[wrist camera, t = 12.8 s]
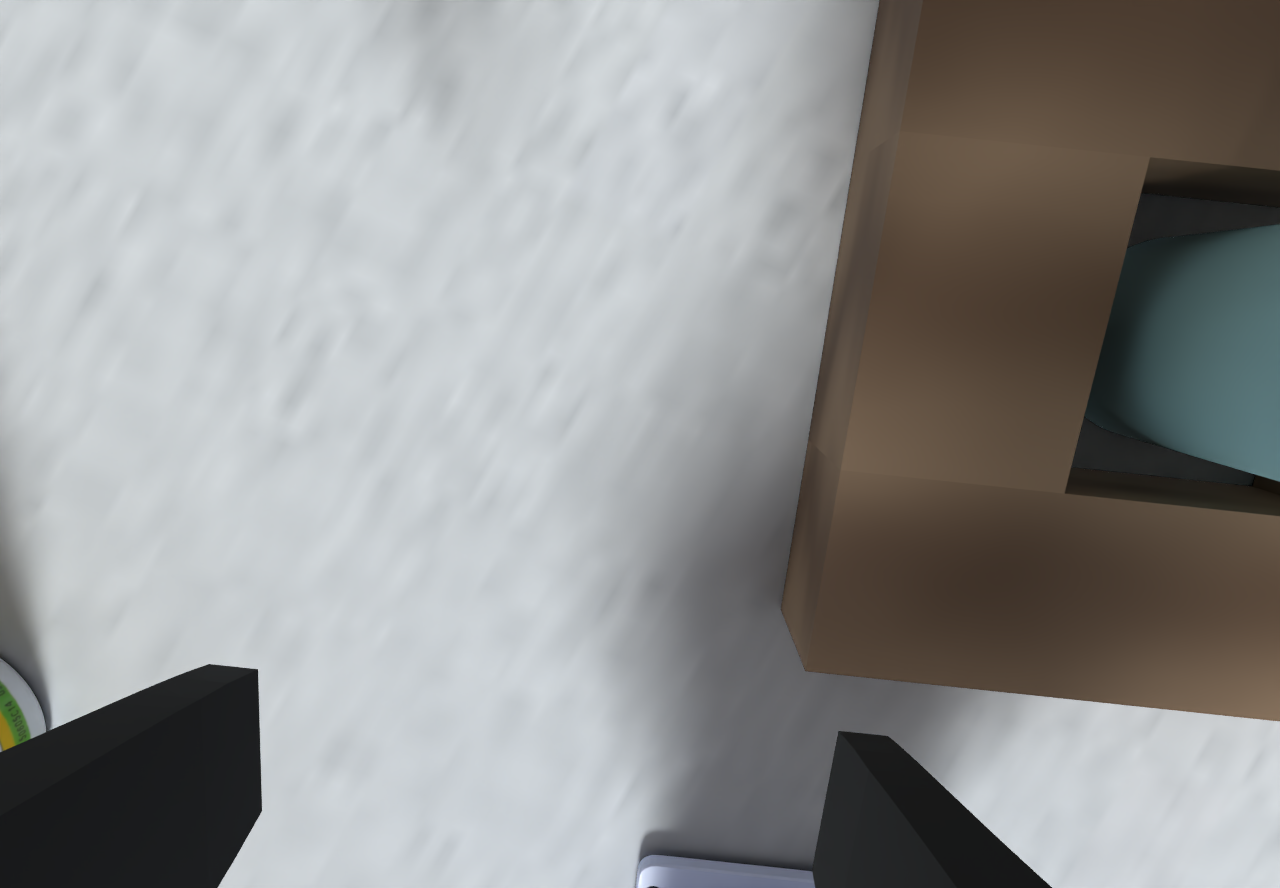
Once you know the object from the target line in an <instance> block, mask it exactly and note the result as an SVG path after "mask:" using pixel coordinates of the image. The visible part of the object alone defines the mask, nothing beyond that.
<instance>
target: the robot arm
mask: <svg viewBox="0 0 1280 888" xmlns="http://www.w3.org/2000/svg"><path fill="white" fill-rule="evenodd" d="M261 812H262V796H261V761H260V727H259V692H258V669H249V668H240V667H230V666H221V665H211V664H208V665H206V666H203V667H200V668H197V669H194V670H191V671H188V672H186V673H183V674H181V675H178V676H175V677H173V678H171V679H168V680H166V681H163V682H161V683H158V684H156V685H154V686H151V687H149V688H146V689H144V690H142V691H139V692H137V693H135V694H132V695H130V696H128V697H125V698H123V699H121V700H119V701H116V702H114V703H112V704H109V705H107V706H105V707H102V708H100V709H98V710H96V711H93V712H91V713H89V714H87V715H84V716H82V717H80V718H77V719H75V720H73V721H71V722H68V723H66V724H64V725H61V726H59V727H57V728H54V729H52V730H50V731H48V732H45V733H43V734H41V735H38V736H36V737H34V738H32V739H29V740H27V741H25V742H22V743H20V744H18V745H16V746H13V747H11V748H9V749H6V750H4V751H2V752H0V888H217V887H218V886H219V884H220V882H221V881H222V879H223V877H224V876H225V874H226V872H227V871H228V869H229V868H230V866H231V864H232V863H233V861H234V859H235V858H236V856H237V854H238V852H239V850H240V849H241V847H242V845H243V843H244V842H245V840H246V838H247V836H248V835H249V833H250V831H251V829H252V828H253V826H254V824H255V822H256V820H257V819H258V817H259V815H260V813H261ZM649 886H656V887H658V888H1052V887H1051V886H1050V885H1048V884H1047V883H1046V882H1045V881H1044V880H1043V879H1042V878H1041V877H1040V876H1039V875H1037V874H1036V873H1035V872H1034V871H1033V870H1032V869H1031V868H1030V867H1029V866H1028V865H1026V864H1025V863H1024V862H1023V861H1022V860H1021V859H1020V858H1019V857H1018V856H1017V855H1016V854H1015V853H1013V852H1012V851H1011V850H1010V849H1009V848H1008V847H1007V846H1006V845H1005V844H1004V843H1003V842H1002V841H1000V840H999V839H998V838H997V837H996V836H995V835H994V834H993V833H992V832H991V831H990V830H989V829H988V828H987V827H986V826H984V825H983V824H982V823H981V822H980V821H979V820H978V819H977V818H976V817H975V816H974V815H973V814H972V813H971V812H970V811H969V810H968V809H966V808H965V807H964V806H963V805H962V804H961V803H960V802H959V801H958V800H957V799H956V798H955V797H954V796H953V795H952V794H951V793H950V792H949V791H947V790H946V789H945V788H944V787H943V786H942V785H941V784H940V783H939V782H938V781H937V780H936V779H935V778H934V777H933V776H932V775H931V774H930V773H928V772H927V771H926V770H925V769H924V768H923V767H922V766H921V765H920V764H919V763H918V762H917V761H916V760H915V759H913V758H912V757H911V756H910V755H909V754H908V753H907V752H906V751H905V750H904V749H902V748H901V747H900V746H899V745H898V744H897V743H896V742H894V741H893V740H892V739H891V738H890V737H888V736H882V735H872V734H863V733H853V732H844V731H839V732H838V737H837V742H836V747H835V753H834V758H833V763H832V768H831V773H830V779H829V784H828V789H827V794H826V800H825V805H824V810H823V815H822V820H821V826H820V831H819V836H818V841H817V846H816V852H815V857H814V862H813V867H812V871H804V870H795V869H785V868H776V867H767V866H757V865H748V864H738V863H729V862H720V861H710V860H701V859H691V858H682V857H673V856H663V855H649V856H647V857H645V858H643V859H642V860H641V861H640V863H639V866H638V871H637V879H636V887H635V888H648V887H649Z"/></svg>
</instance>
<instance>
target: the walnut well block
mask: <svg viewBox="0 0 1280 888" xmlns="http://www.w3.org/2000/svg"><path fill="white" fill-rule="evenodd" d="M1141 193H1147V194H1156V195H1166V196H1175V197H1185V198H1194V199H1204V200H1214V201H1223V202H1233V203H1242V204H1252V205H1262V206H1271V207H1280V0H880V2H879V8H878V14H877V20H876V27H875V33H874V39H873V45H872V51H871V57H870V63H869V70H868V76H867V82H866V88H865V94H864V100H863V107H862V113H861V119H860V125H859V131H858V137H857V144H856V150H855V156H854V162H853V168H852V174H851V181H850V187H849V193H848V199H847V205H846V211H845V217H844V224H843V230H842V236H841V242H840V248H839V254H838V261H837V267H836V273H835V279H834V285H833V291H832V298H831V304H830V310H829V316H828V322H827V328H826V335H825V341H824V347H823V353H822V359H821V365H820V371H819V378H818V384H817V390H816V396H815V402H814V408H813V415H812V421H811V427H810V433H809V439H808V445H807V452H806V458H805V464H804V470H803V476H802V482H801V489H800V495H799V501H798V507H797V513H796V519H795V525H794V532H793V538H792V544H791V550H790V556H789V562H788V569H787V575H786V581H785V587H784V593H783V599H782V606H781V611H782V613H783V616H784V618H785V621H786V623H787V626H788V629H789V631H790V634H791V636H792V639H793V641H794V644H795V646H796V649H797V651H798V654H799V656H800V659H801V661H802V664H803V666H804V669H805V671H809V672H818V673H828V674H837V675H847V676H856V677H866V678H875V679H885V680H894V681H904V682H913V683H922V684H932V685H941V686H951V687H960V688H970V689H979V690H989V691H998V692H1007V693H1017V694H1026V695H1036V696H1045V697H1055V698H1064V699H1074V700H1083V701H1093V702H1102V703H1111V704H1121V705H1130V706H1140V707H1149V708H1159V709H1168V710H1178V711H1187V712H1196V713H1206V714H1215V715H1225V716H1234V717H1244V718H1253V719H1263V720H1272V721H1280V482H1279V481H1276V480H1272V479H1269V478H1266V477H1262V476H1259V475H1256V476H1255V479H1254V483H1253V486H1243V485H1234V484H1224V483H1215V482H1205V481H1196V480H1186V479H1177V478H1167V477H1158V476H1148V475H1139V474H1129V473H1120V472H1110V471H1101V470H1091V469H1082V468H1072V467H1071V466H1072V462H1073V458H1074V454H1075V450H1076V446H1077V442H1078V438H1079V434H1080V430H1081V426H1082V423H1083V419H1084V415H1085V411H1086V407H1087V403H1088V399H1089V395H1090V391H1091V387H1092V383H1093V379H1094V375H1095V371H1096V368H1097V364H1098V360H1099V356H1100V352H1101V348H1102V344H1103V340H1104V336H1105V332H1106V328H1107V324H1108V320H1109V317H1110V313H1111V309H1112V305H1113V301H1114V297H1115V293H1116V289H1117V285H1118V281H1119V277H1120V273H1121V269H1122V266H1123V262H1124V258H1125V254H1126V250H1127V246H1128V242H1129V238H1130V234H1131V230H1132V226H1133V222H1134V218H1135V214H1136V211H1137V207H1138V203H1139V199H1140V195H1141Z"/></svg>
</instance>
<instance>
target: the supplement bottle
mask: <svg viewBox="0 0 1280 888" xmlns="http://www.w3.org/2000/svg"><path fill="white" fill-rule="evenodd" d="M45 732H46V725H45V720H44V716H43V713H42V710H41V707H40V705H39V702H38V700H37V698H36V697H35V695H34V693H33V692H32V690H31V688H30V687H29V686H28V684H27V683H26V682H25V681H24V679H23V678H22V677H21V676H20V675H19V674H18V673H17V672H16V671H15V670H14V669H13V668H12V667H11V666H10V665H9V664H7V663H6V662H5V661H3V660H2V659H1V658H0V752H2V751H4V750H6V749H9V748H11V747H13V746H16V745H18V744H20V743H22V742H25V741H27V740H29V739H32V738H34V737H36V736H38V735H41V734H43V733H45Z"/></svg>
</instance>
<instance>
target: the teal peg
mask: <svg viewBox="0 0 1280 888" xmlns="http://www.w3.org/2000/svg"><path fill="white" fill-rule="evenodd" d="M1084 416H1085V417H1086V418H1087V419H1088V420H1090V421H1091V422H1093V423H1094V424H1096V425H1097V426H1099V427H1102V428H1104V429H1106V430H1108V431H1111V432H1114V433H1117V434H1120V435H1124V436H1127V437H1130V438H1134V439H1137V440H1141V441H1144V442H1147V443H1151V444H1154V445H1158V446H1161V447H1164V448H1168V449H1171V450H1174V451H1178V452H1181V453H1185V454H1188V455H1191V456H1195V457H1198V458H1201V459H1205V460H1208V461H1212V462H1215V463H1218V464H1222V465H1225V466H1229V467H1232V468H1235V469H1239V470H1242V471H1245V472H1249V473H1252V474H1256V475H1259V476H1262V477H1266V478H1269V479H1272V480H1276V481H1279V482H1280V224H1277V225H1269V226H1260V227H1252V228H1243V229H1235V230H1226V231H1218V232H1209V233H1201V234H1192V235H1184V236H1175V237H1166V238H1158V239H1154V240H1150V241H1145V242H1142V243H1140V244H1137V245H1134V246H1131V247H1129V248H1127V250H1126V254H1125V258H1124V262H1123V266H1122V269H1121V273H1120V277H1119V281H1118V285H1117V289H1116V293H1115V297H1114V301H1113V305H1112V309H1111V313H1110V317H1109V320H1108V324H1107V328H1106V332H1105V336H1104V340H1103V344H1102V348H1101V352H1100V356H1099V360H1098V364H1097V368H1096V371H1095V375H1094V379H1093V383H1092V387H1091V391H1090V395H1089V399H1088V403H1087V407H1086V411H1085V415H1084Z"/></svg>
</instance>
